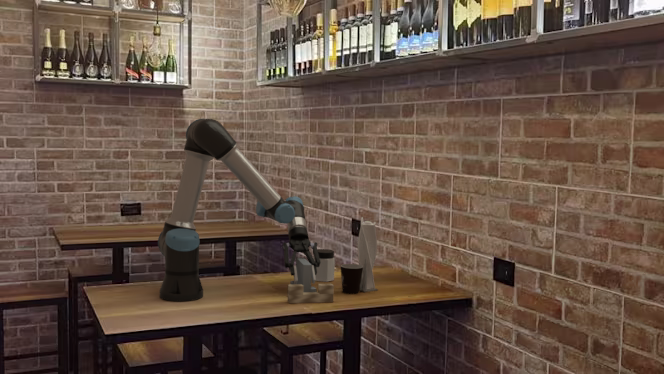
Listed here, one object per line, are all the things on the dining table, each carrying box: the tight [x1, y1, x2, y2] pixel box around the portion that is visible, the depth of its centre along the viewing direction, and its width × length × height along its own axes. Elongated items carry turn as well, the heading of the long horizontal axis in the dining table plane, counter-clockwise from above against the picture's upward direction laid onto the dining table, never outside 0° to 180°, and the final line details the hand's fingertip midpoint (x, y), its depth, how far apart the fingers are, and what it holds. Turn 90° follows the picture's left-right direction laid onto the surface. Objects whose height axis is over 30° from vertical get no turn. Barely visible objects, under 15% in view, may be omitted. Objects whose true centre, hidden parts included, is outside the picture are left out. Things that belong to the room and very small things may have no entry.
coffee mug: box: [340, 263, 363, 295], centre depth 246 cm, size 12×9×10 cm
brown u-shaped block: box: [287, 283, 335, 304], centre depth 228 cm, size 16×3×6 cm, turn 105°
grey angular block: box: [289, 257, 317, 292], centre depth 241 cm, size 14×7×12 cm, turn 15°
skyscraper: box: [357, 216, 379, 293], centre depth 250 cm, size 8×8×28 cm
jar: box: [312, 248, 336, 283], centre depth 264 cm, size 9×8×12 cm
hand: (305, 282), depth 237 cm, fingers open, 6 cm apart
